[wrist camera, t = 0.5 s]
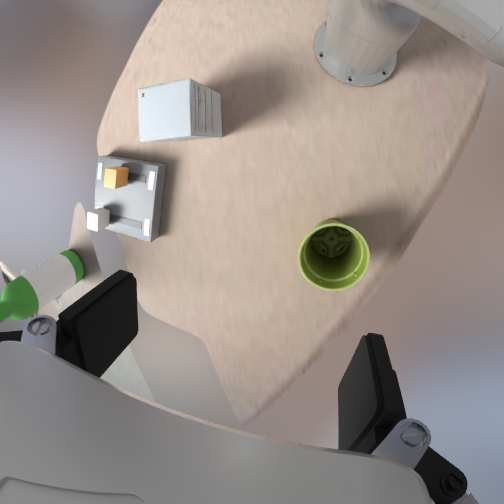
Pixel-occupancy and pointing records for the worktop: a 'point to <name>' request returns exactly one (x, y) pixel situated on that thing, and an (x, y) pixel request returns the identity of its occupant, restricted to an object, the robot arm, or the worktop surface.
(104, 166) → the slider switch panel
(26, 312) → the wine bottle
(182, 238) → the worktop surface
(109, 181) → the block
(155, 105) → the supplement box
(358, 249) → the plant pot
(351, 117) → the worktop surface
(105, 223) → the white slider switch
